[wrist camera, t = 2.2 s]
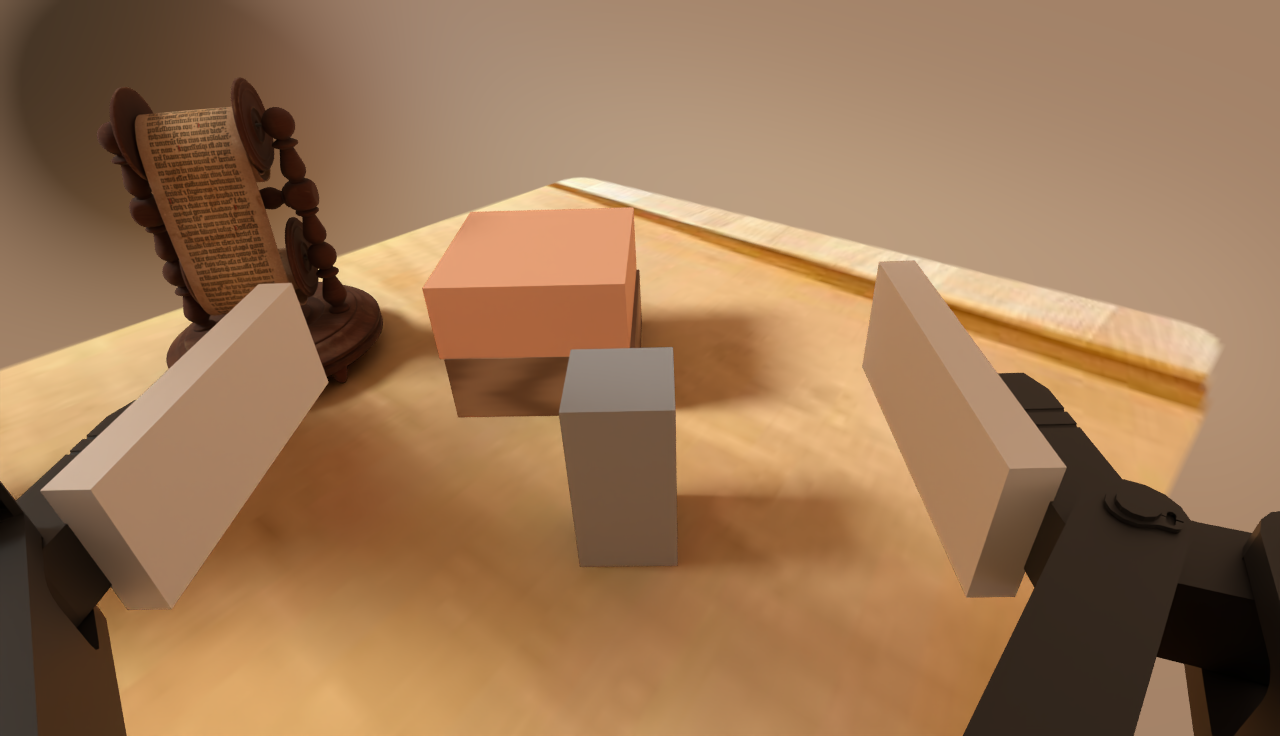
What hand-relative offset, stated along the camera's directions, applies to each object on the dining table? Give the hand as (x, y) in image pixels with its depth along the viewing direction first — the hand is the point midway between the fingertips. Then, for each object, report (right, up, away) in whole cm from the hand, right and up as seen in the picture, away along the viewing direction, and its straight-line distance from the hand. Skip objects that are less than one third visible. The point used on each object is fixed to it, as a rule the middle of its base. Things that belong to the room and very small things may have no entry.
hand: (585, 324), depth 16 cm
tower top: (-5, +3, +32) cm, 33 cm away
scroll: (-26, 0, +37) cm, 45 cm away
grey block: (+1, -10, +21) cm, 23 cm away
